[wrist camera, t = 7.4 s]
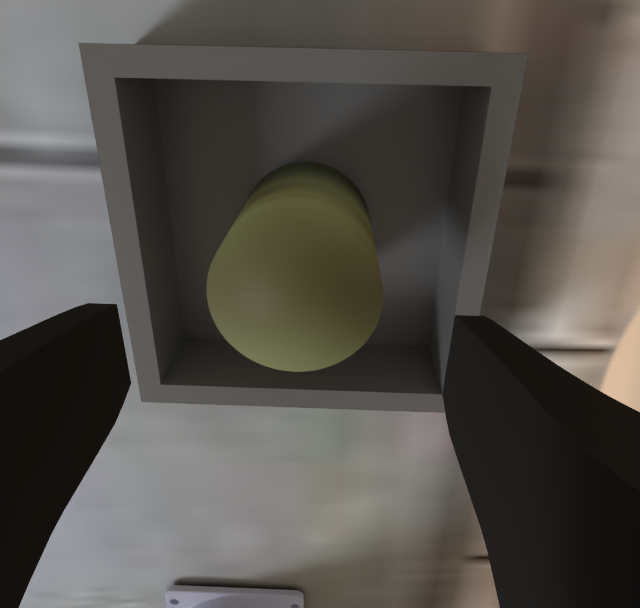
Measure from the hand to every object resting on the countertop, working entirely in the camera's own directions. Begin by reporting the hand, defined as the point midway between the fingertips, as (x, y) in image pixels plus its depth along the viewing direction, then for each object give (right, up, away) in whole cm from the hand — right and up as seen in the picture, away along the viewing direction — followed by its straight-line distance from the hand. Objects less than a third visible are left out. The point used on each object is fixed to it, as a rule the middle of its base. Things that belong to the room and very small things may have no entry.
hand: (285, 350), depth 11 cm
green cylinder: (0, +4, +8) cm, 8 cm away
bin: (0, +4, +8) cm, 9 cm away
